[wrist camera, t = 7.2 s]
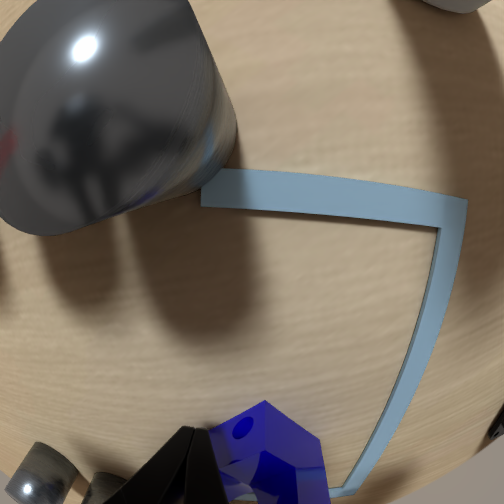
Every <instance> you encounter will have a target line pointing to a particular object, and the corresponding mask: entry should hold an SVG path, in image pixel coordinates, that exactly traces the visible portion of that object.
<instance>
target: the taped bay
mask: <svg viewBox="0 0 504 504" xmlns="http://www.w3.org/2000/svg"><path fill="white" fill-rule="evenodd" d="M467 206H468V200H467V199H463V198H458V197H454V196H449V195H444V194H439V193H434V192H429V191H424V190H419V189H413V188H408V187H402V186H396V185H390V184H383V183H377V182H370V181H363V180H355V179H347V178H339V177H331V176H322V175H312V174H302V173H290V172H278V171H263V170H247V169H224V168H221V170H220V171H219V172H218V173H217V174H216V175H215V176H214V178H213V179H211V180H210V181H209V182H208V183H206V184H205V185H204V186H202V187H201V207H221V208H240V209H257V210H272V211H286V212H299V213H312V214H323V215H334V216H345V217H355V218H365V219H374V220H384V221H392V222H401V223H409V224H417V225H425V226H432V227H438V233H437V239H436V245H435V250H434V255H433V261H432V265H431V270H430V275H429V279H428V284H427V288H426V292H425V296H424V300H423V303H422V307H421V311H420V314H419V318H418V321H417V324H416V328H415V331H414V334H413V337H412V340H411V343H410V346H409V349H408V352H407V355H406V358H405V360H404V363H403V366H402V369H401V371H400V374H399V376H398V379H397V381H396V384H395V386H394V389H393V391H392V393H391V396H390V398H389V400H388V403H387V405H386V407H385V409H384V411H383V414H382V416H381V418H380V420H379V422H378V424H377V426H376V428H375V430H374V432H373V434H372V436H371V438H370V440H369V442H368V444H367V446H366V447H365V449H364V451H363V453H362V455H361V456H360V458H359V460H358V462H357V463H356V465H355V467H354V469H353V470H352V472H351V473H350V475H349V477H348V478H347V480H346V482H345V483H344V485H343V486H342V487H340V488H332V489H328V490H329V496H330V498H335V497H342V496H349V495H354V494H355V493H356V491H357V490H358V489H359V487H360V486H361V484H362V483H363V482H364V480H365V479H366V477H367V476H368V474H369V473H370V471H371V470H372V468H373V467H374V465H375V464H376V462H377V461H378V459H379V458H380V456H381V454H382V453H383V451H384V450H385V448H386V446H387V445H388V443H389V441H390V439H391V438H392V436H393V434H394V432H395V431H396V429H397V427H398V425H399V423H400V421H401V420H402V418H403V416H404V414H405V412H406V410H407V408H408V406H409V404H410V402H411V400H412V398H413V396H414V393H415V391H416V389H417V387H418V385H419V382H420V380H421V378H422V375H423V373H424V371H425V368H426V366H427V363H428V361H429V358H430V356H431V353H432V351H433V348H434V345H435V342H436V340H437V337H438V334H439V331H440V328H441V325H442V322H443V319H444V315H445V312H446V309H447V305H448V302H449V298H450V295H451V291H452V287H453V283H454V279H455V275H456V270H457V266H458V261H459V257H460V251H461V246H462V241H463V235H464V229H465V222H466V214H467ZM234 500H245V501H257V498H256V496H255V493H254V492H252V493H247V494H244V495H242V496H239V497H237V498H235V499H234Z"/></svg>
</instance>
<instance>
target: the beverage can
mask: <svg viewBox="0 0 504 504" xmlns="http://www.w3.org/2000/svg"><path fill="white" fill-rule="evenodd" d="M422 1H424V2H426V3H428V4H430V5H433V6H435V7H438V8H440V9H443V10H447V11H452V12H456V13H461V14H463V13H471V12H473V11H475V10H476V9H478V8H480V7H481V6H483V5H485V4H486V3H488V2H490V1H491V0H422Z"/></svg>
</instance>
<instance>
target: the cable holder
mask: <svg viewBox="0 0 504 504" xmlns="http://www.w3.org/2000/svg"><path fill="white" fill-rule="evenodd" d="M208 431H209V435H210V439H211V443H212V446H213V450H214V454H215V458H216V461H217V465H218V468H219V472H220V475H221V479H222V482H223V485H224V489H225V492H226V495H227V498H228V502H230V501H232V500H234V499H235V498H237V497H239V496H242V495H244V494H247V493H252V492H254V493H255V496H256V498H257V502H258V504H331V502H330V496H329V490H328V484H327V478H326V472H325V467H324V461H323V456H322V450H321V445H320V440H319V439H318V438H316V437H315V436H314V435H312V434H311V433H309V432H308V431H306V430H305V429H303V428H302V427H301V426H299V425H298V424H296V423H295V422H294V421H292V420H291V419H290V418H288V417H287V416H285V415H284V414H283V413H281V412H280V411H279V410H277V409H276V408H275V407H274V406H272V405H271V404H270V403H268V402H267V401H266V400H264V401H262V402H261V403H259V404H257V405H255V406H254V407H252V408H250V409H248V410H246V411H245V412H243V413H241V414H239V415H237V416H235V417H233V418H232V419H230V420H228V421H226V422H224V423H222V424H220V425H218V426H216V427H214V428H212V429H210V430H208Z"/></svg>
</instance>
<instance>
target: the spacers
mask: <svg viewBox="0 0 504 504" xmlns="http://www.w3.org/2000/svg"><path fill="white" fill-rule="evenodd" d="M236 132H237V122H236V115H235V112H234V108H233V105H232V103H231V100H230V98H229V95H228V93H227V90H226V88H225V85H224V83H223V80H222V78H221V75H220V73H219V71H218V68H217V66H216V63H215V61H214V58H213V56H212V54H211V51H210V49H209V47H208V44H207V42H206V40H205V37H204V35H203V33H202V30H201V28H200V26H199V23H198V21H197V19H196V16H195V14H194V12H193V10H192V7H191V5H190V3H189V1H188V0H37V1H36V2H35V3H34V4H32V5H31V6H30V7H29V8H28V9H27V10H26V11H25V12H24V13H23V14H22V15H21V16H20V18H19V19H18V20H17V21H16V22H15V23H14V25H13V26H12V27H11V28H10V30H9V31H8V32H7V34H6V35H5V37H4V38H3V40H2V41H1V42H0V217H1V218H2V219H3V220H4V221H5V222H6V223H8V224H9V225H11V226H12V227H14V228H16V229H17V230H20V231H23V232H25V233H28V234H33V235H39V236H52V235H59V234H63V233H68V232H71V231H74V230H77V229H79V228H82V227H85V226H88V225H91V224H93V223H96V222H99V221H102V220H105V219H108V218H111V217H114V216H117V215H120V214H123V213H126V212H129V211H132V210H135V209H139V208H142V207H145V206H148V205H152V204H155V203H158V202H162V201H165V200H168V199H172V198H175V197H179V196H182V195H186V194H189V193H192V192H194V191H196V190H198V189H200V188H201V187H202V186H204V185H205V184H206V183H208V182H209V181H210V180H211V179H213V178H214V176H215V175H216V174H217V173H218V172H219V171H220V170H221V168H223V167H224V166H225V164H226V163H227V161H228V159H229V157H230V155H231V153H232V150H233V147H234V144H235V140H236ZM77 474H78V471H77V469H76V468H75V467H74V466H73V464H72V463H71V462H69V461H68V460H67V459H66V458H65V457H64V456H62V455H61V454H60V453H58V452H57V451H55V450H54V449H52V448H51V447H49V446H47V445H45V444H43V443H40V442H35V443H34V445H33V446H32V448H31V449H30V451H29V452H28V454H27V455H26V457H25V458H24V460H23V461H22V463H21V464H20V466H19V467H18V469H17V470H16V472H15V473H14V475H13V477H12V478H11V480H10V481H9V483H8V485H7V486H6V488H5V491H6V493H7V494H8V495H9V496H11V497H12V498H13V499H14V500H15V501H16V502H17V503H19V504H63V502H64V500H65V498H66V496H67V494H68V492H69V490H70V488H71V486H72V484H73V482H74V480H75V478H76V476H77ZM126 482H127V480H125V479H122V478H120V477H117V476H115V475H112V474H108V473H103V472H97V473H95V475H94V477H93V479H92V481H91V483H90V485H89V488H88V490H87V492H86V494H85V496H84V498H83V501H82V503H81V504H102V503H103V502H104V501H106V500H107V499H108V498H109V497H110V496H112V495H113V494H114V493H115V492H116V491H117V490H118V489H121V487H122V486H123V485H124V484H125V483H126Z"/></svg>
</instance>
